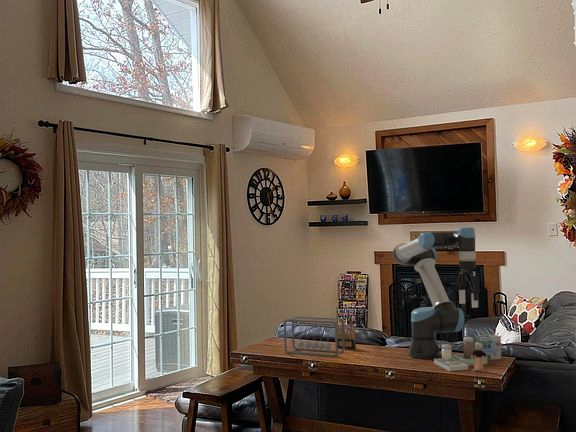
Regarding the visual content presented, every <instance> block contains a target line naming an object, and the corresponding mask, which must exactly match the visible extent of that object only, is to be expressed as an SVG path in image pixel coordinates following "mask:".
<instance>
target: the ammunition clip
mask: <svg viewBox="0 0 576 432" xmlns="http://www.w3.org/2000/svg"><path fill="white" fill-rule="evenodd" d="M339 326H340V327H339ZM344 332H345V350H356V349H357V345H356V333H355V328H354V326H352V327H351V326H349V327H348V325H346V327H345V326H344ZM337 339H338V349H343V339H342V325H337Z"/></svg>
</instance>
